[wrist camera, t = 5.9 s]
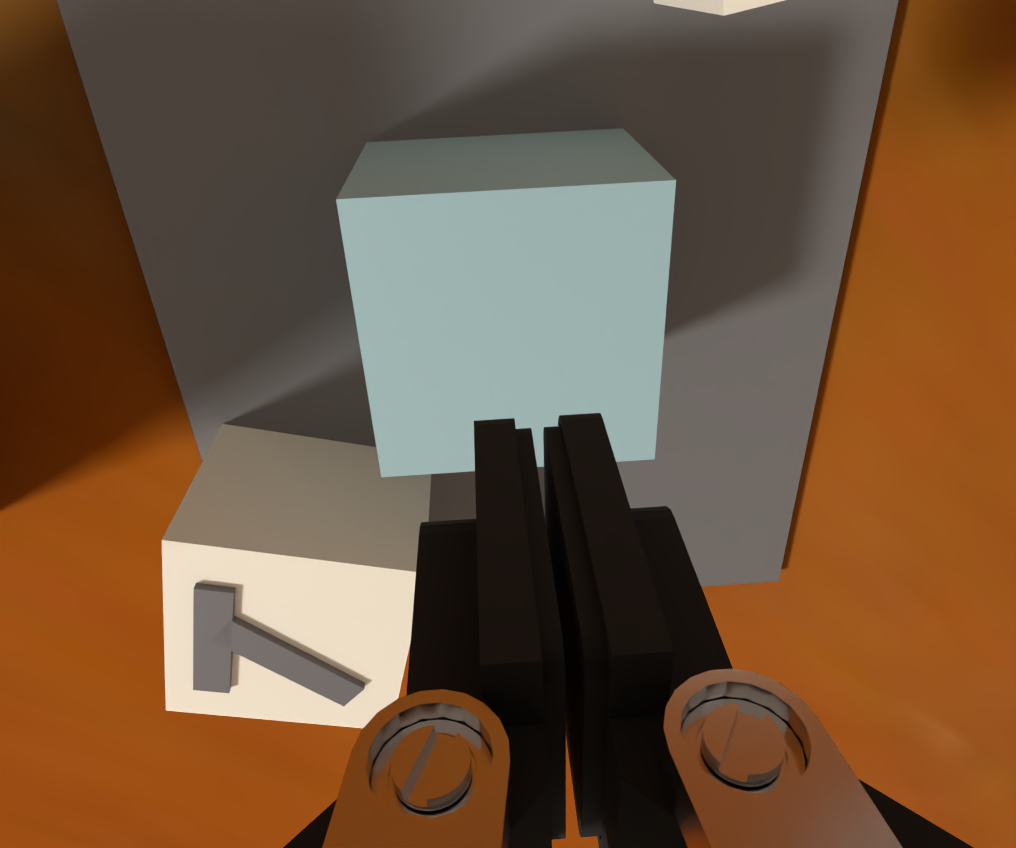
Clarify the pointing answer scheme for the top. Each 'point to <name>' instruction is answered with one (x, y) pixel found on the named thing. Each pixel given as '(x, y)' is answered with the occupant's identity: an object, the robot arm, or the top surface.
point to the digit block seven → (290, 581)
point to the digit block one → (717, 5)
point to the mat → (483, 112)
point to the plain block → (507, 289)
